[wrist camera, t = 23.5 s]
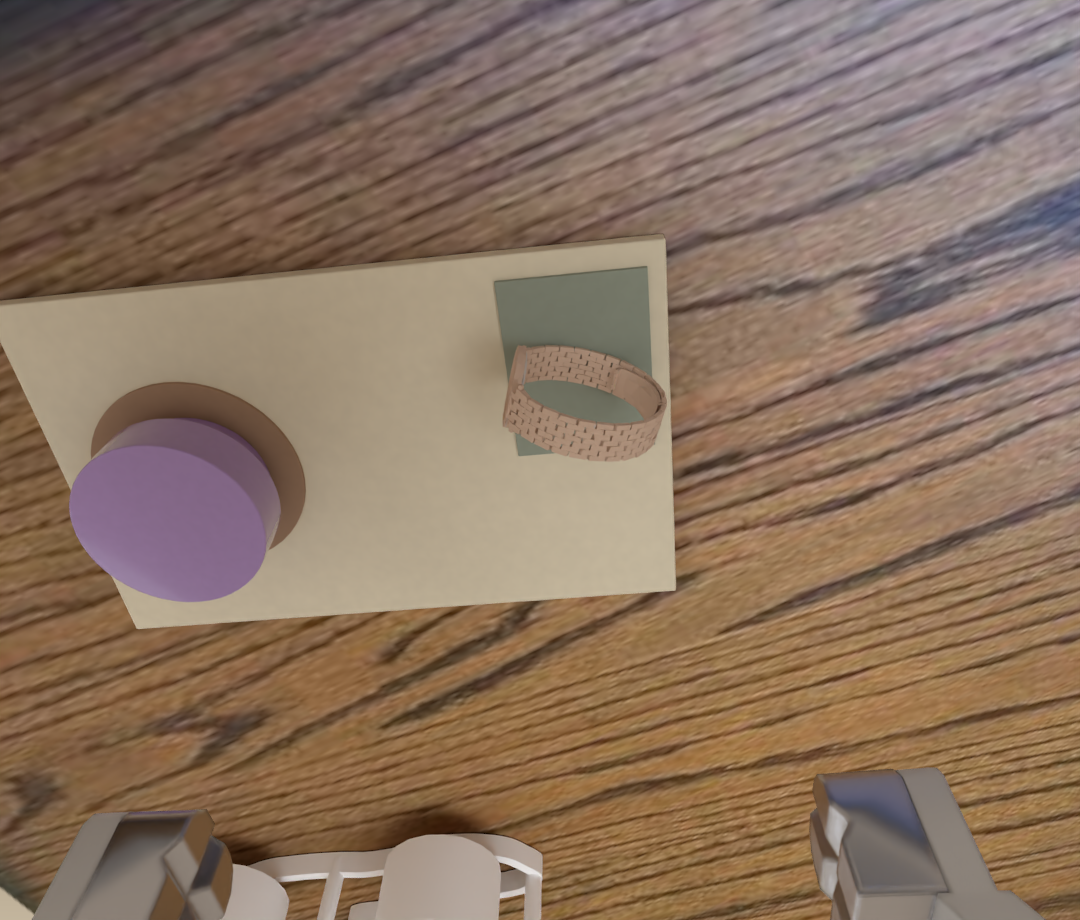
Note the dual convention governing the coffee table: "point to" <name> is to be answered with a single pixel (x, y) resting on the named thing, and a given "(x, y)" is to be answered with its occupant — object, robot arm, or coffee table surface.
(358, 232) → the coffee table surface
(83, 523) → the lavender hockey puck
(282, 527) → the mat
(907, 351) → the coffee table surface
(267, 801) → the coffee table surface
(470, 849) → the car outline toy
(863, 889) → the robot arm
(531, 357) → the perforated watch strap
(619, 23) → the coffee table surface
